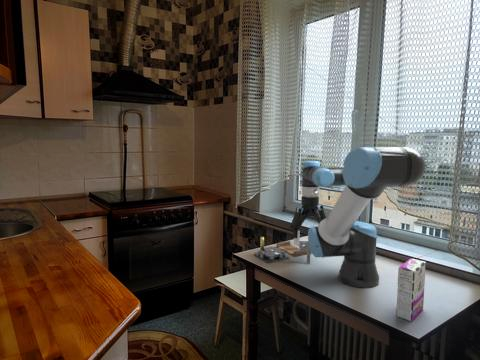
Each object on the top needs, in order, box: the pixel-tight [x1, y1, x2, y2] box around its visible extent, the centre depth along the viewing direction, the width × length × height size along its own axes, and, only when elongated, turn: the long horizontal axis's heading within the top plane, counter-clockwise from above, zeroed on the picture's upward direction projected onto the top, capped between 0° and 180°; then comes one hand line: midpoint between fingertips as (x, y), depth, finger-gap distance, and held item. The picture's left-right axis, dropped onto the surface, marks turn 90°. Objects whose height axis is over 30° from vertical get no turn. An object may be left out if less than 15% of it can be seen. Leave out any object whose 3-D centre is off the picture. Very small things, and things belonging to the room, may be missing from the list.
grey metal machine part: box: [257, 236, 286, 259], centre depth 155 cm, size 13×13×8 cm
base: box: [253, 252, 290, 264], centre depth 156 cm, size 12×12×1 cm
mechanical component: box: [296, 240, 313, 265], centre depth 147 cm, size 3×10×10 cm, turn 89°
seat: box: [276, 240, 307, 258], centre depth 164 cm, size 15×8×2 cm, turn 29°
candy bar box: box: [396, 258, 427, 322], centre depth 105 cm, size 11×5×16 cm, turn 135°
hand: (308, 242), depth 147 cm, fingers open, 13 cm apart
